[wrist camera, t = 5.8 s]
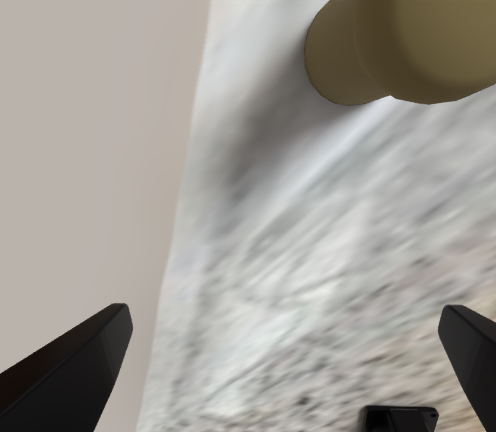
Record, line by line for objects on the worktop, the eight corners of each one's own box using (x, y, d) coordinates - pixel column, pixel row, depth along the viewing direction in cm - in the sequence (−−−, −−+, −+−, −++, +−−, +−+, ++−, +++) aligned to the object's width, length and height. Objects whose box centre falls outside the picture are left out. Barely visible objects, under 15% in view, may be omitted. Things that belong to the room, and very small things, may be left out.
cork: (383, -42, 16) (604, -293, 5) (428, 64, 17) (660, 25, 7) (284, 35, 17) (311, -47, 7) (335, 125, 19) (416, 165, 9)
